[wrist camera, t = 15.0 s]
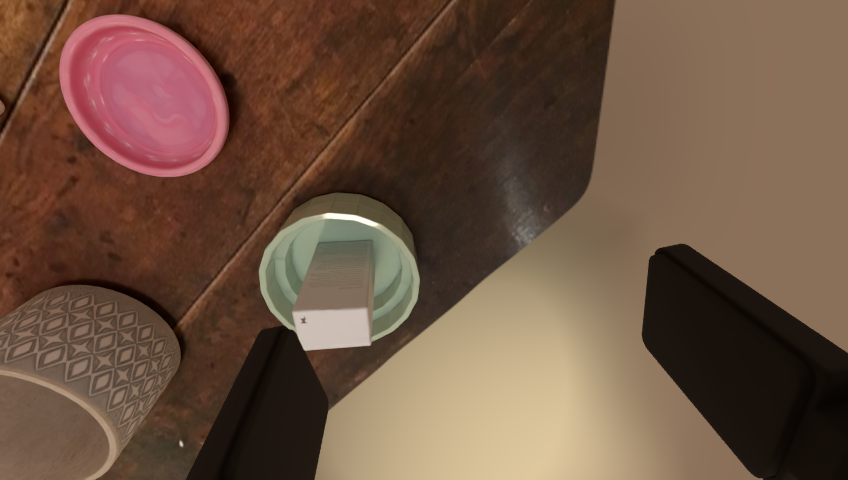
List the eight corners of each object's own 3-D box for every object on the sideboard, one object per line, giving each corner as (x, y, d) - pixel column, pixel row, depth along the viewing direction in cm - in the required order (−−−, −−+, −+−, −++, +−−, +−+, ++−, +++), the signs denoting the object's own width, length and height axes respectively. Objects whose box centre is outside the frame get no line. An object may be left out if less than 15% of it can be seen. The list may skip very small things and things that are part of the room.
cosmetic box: (323, 275, 41) (298, 352, 30) (317, 241, 39) (289, 311, 28) (377, 272, 41) (371, 347, 31) (374, 238, 39) (367, 306, 29)
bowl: (399, 177, 37) (399, 197, 32) (427, 296, 44) (431, 329, 39) (254, 208, 37) (231, 233, 32) (305, 321, 44) (293, 357, 39)
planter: (202, 381, 47) (143, 483, 36) (69, 390, 46) (-35, 497, 35) (160, 274, 40) (68, 360, 29) (0, 281, 39) (-160, 373, 28)
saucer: (99, 154, 34) (72, 163, 31) (72, 0, 29) (37, -7, 26) (239, 179, 36) (226, 189, 33) (239, 38, 31) (223, 37, 28)
